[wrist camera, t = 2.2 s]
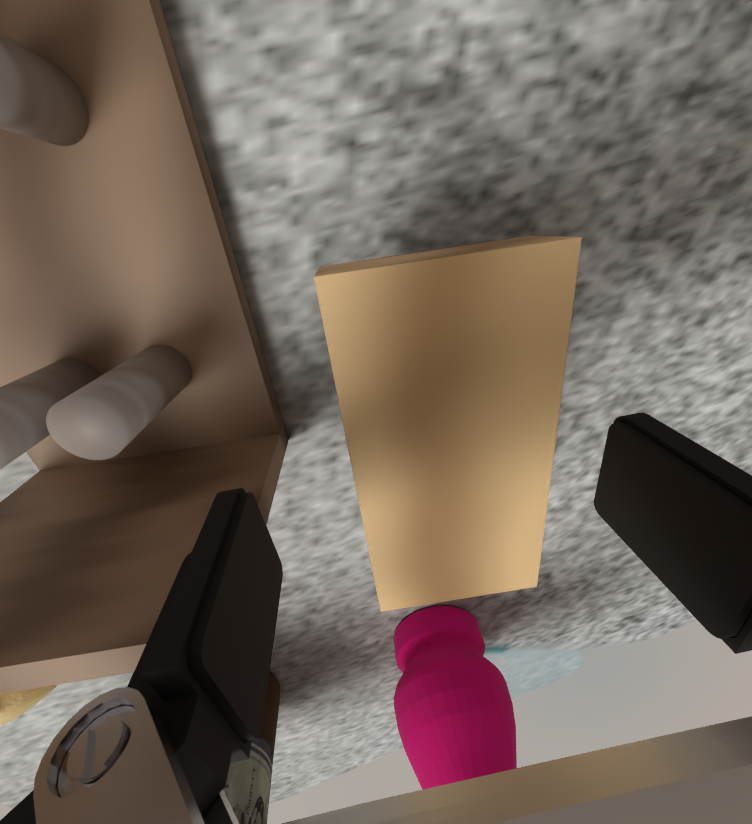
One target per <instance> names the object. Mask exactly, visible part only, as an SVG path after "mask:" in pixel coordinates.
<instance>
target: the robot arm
mask: <svg viewBox="0 0 752 824" xmlns="http://www.w3.org/2000/svg"><path fill="white" fill-rule="evenodd" d="M594 506H595V509H596V511H597V513H598V514H599V515H600V516H601V517H602V518H603V520H604V521H605V522H606V523H607V524H608V525H609V526H610V527H611V528H612V529H613V530H614V531H615V532H616V533H617V534H618V536H619V537H620V538H621V539H622V540H623V541H624V542H625V543H626V544H627V545H628V546H629V547H630V548H631V549H632V551H633V552H634V553H635V554H636V555H637V556H638V557H639V558H640V559H641V560H642V561H643V562H644V563H645V564H646V565H647V567H648V568H649V569H650V570H651V571H652V572H653V573H654V574H655V575H656V576H657V577H658V578H659V579H660V580H661V581H662V583H663V584H664V585H665V586H666V587H667V588H668V589H669V590H670V591H671V592H672V593H673V594H674V595H675V596H676V598H677V599H678V600H679V601H680V602H681V603H682V604H683V605H684V606H685V607H686V608H687V609H688V610H689V611H690V612H691V614H692V615H693V616H694V617H695V618H696V619H697V620H698V621H699V622H700V623H701V624H702V625H703V626H704V627H705V629H706V630H707V631H709V632H710V633H711V634H712V635H714V636H715V637H717V638H720V639H722V640H723V641H724V642H725V643H726V644H727V645H728V646H729V647H730V648H731V649H732V650H733V652H734V653H741V652H745V651H750V650H752V476H751V475H750V474H748V473H746V472H745V471H743V470H741V469H739V468H738V467H736V466H734V465H733V464H731V463H729V462H728V461H726V460H724V459H723V458H721V457H719V456H717V455H716V454H714V453H712V452H711V451H709V450H707V449H706V448H704V447H702V446H700V445H699V444H697V443H695V442H694V441H692V440H690V439H689V438H687V437H685V436H684V435H682V434H680V433H678V432H677V431H675V430H673V429H672V428H670V427H668V426H667V425H665V424H663V423H661V422H660V421H658V420H656V419H655V418H653V417H651V416H650V415H648V414H645V413H636V414H631V415H626V416H620V417H618V418H616V419H615V421H614V423H613V424H611V426H610V427H609V430H608V435H607V440H606V445H605V450H604V454H603V459H602V464H601V469H600V474H599V479H598V484H597V489H596V493H595V498H594ZM282 576H283V571H282V564H281V561H280V559H279V556H278V554H277V551H276V549H275V546H274V544H273V541H272V539H271V536H270V534H269V531H268V529H267V527H266V524H265V522H264V519H263V517H262V514H261V512H260V509H259V507H258V504H257V502H256V499H255V497H254V495H253V493H252V492H248V493H246V491H245V490H244V489H243V488H237V489H232V490H226V491H221V492H218V493H217V494H216V496H215V498H214V501H213V503H212V505H211V508H210V510H209V512H208V515H207V517H206V519H205V522H204V524H203V526H202V529H201V531H200V533H199V536H198V538H197V540H196V543H195V545H194V547H193V550H192V552H191V553H189V554H188V555H187V556H186V557H185V559H184V561H183V562H182V565H181V567H180V569H179V571H178V574H177V576H176V578H175V580H174V583H173V585H172V587H171V589H170V592H169V594H168V596H167V598H166V601H165V603H164V605H163V607H162V610H161V612H160V614H159V617H158V619H157V621H156V623H155V626H154V628H153V630H152V632H151V635H150V637H149V639H148V641H147V644H146V646H145V648H144V650H143V653H142V655H141V657H140V660H139V662H138V664H137V666H136V669H135V671H134V673H133V675H132V678H131V680H130V682H129V684H128V687H125V688H117V689H113V690H111V691H109V692H106V693H104V694H102V695H100V696H98V697H97V698H95V699H94V700H92V701H91V702H89V703H88V704H86V705H85V706H84V707H83V708H82V709H80V710H79V711H78V712H77V713H76V714H75V715H74V716H73V717H72V718H71V719H70V720H69V721H68V722H67V723H66V724H65V725H64V727H63V728H62V729H61V730H60V732H59V733H58V734H57V735H56V737H55V738H54V739H53V741H52V743H51V744H50V746H49V748H48V749H47V751H46V753H45V754H44V756H43V758H42V760H41V763H40V765H39V768H38V771H37V773H36V776H35V782H34V790H33V791H32V792H31V793H30V794H29V795H28V796H27V797H25V798H24V799H23V800H22V801H21V802H20V803H19V804H18V805H17V806H16V807H15V808H14V809H12V810H11V811H10V812H9V813H8V814H7V815H6V816H5V817H4V818H3V819H2V820H1V821H0V824H239V822H238V820H237V818H236V816H235V814H234V812H233V809H232V807H231V805H230V803H229V801H228V799H227V797H226V795H225V792H224V790H223V788H224V787H225V786H226V782H227V776H228V771H229V766H230V763H232V762H237V761H242V760H246V759H249V756H250V750H251V743H252V740H253V739H257V738H258V737H259V735H260V732H261V727H262V721H263V714H264V707H265V700H266V692H267V685H268V678H269V671H270V664H271V656H272V649H273V642H274V635H275V627H276V620H277V613H278V606H279V598H280V591H281V584H282ZM282 824H752V717H747V718H742V719H738V720H733V721H729V722H724V723H719V724H715V725H710V726H705V727H701V728H697V729H692V730H687V731H683V732H678V733H674V734H669V735H665V736H660V737H656V738H651V739H647V740H643V741H638V742H633V743H628V744H624V745H619V746H615V747H610V748H606V749H601V750H597V751H592V752H588V753H583V754H580V755H575V756H570V757H565V758H561V759H557V760H552V761H548V762H543V763H539V764H534V765H530V766H525V767H521V768H516V769H512V770H507V771H503V772H499V773H494V774H490V775H485V776H481V777H477V778H472V779H468V780H463V781H459V782H455V783H450V784H446V785H441V786H437V787H433V788H428V789H424V790H420V791H415V792H411V793H406V794H402V795H398V796H393V797H389V798H385V799H380V800H376V801H372V802H367V803H362V804H358V805H354V806H351V807H346V808H342V809H338V810H334V811H330V812H326V813H322V814H318V815H314V816H310V817H306V818H303V819H298V820H294V821H290V822H286V823H282Z"/></svg>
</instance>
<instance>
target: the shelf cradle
mask: <svg viewBox="0 0 752 824" xmlns="http://www.w3.org/2000/svg"><path fill="white" fill-rule="evenodd" d="M287 444H288V438H287V435H286V431H285V428H284V424H283V421H282V417H281V414H280V411H279V407H278V404H277V400H276V397H275V393H274V390H273V387H272V383H271V380H270V376H269V373H268V369H267V366H266V363H265V359H264V356H263V352H262V349H261V346H260V342H259V339H258V335H257V332H256V328H255V325H254V322H253V318H252V315H251V311H250V308H249V304H248V301H247V298H246V294H245V291H244V287H243V284H242V280H241V277H240V274H239V270H238V267H237V263H236V260H235V256H234V253H233V250H232V246H231V243H230V239H229V236H228V233H227V229H226V226H225V222H224V219H223V215H222V212H221V209H220V205H219V202H218V198H217V195H216V191H215V188H214V185H213V181H212V178H211V174H210V171H209V167H208V164H207V161H206V157H205V154H204V150H203V147H202V143H201V140H200V137H199V133H198V130H197V126H196V123H195V120H194V116H193V113H192V109H191V106H190V102H189V99H188V96H187V92H186V89H185V85H184V82H183V78H182V75H181V72H180V68H179V65H178V61H177V58H176V54H175V51H174V48H173V44H172V41H171V37H170V34H169V30H168V27H167V24H166V20H165V17H164V13H163V10H162V7H161V3H160V0H0V469H2V468H3V467H4V466H6V465H7V464H9V463H10V462H12V461H13V460H14V459H16V458H17V457H19V456H20V455H22V454H23V453H25V452H27V454H28V455H29V456H30V458H31V459H32V461H33V462H34V463H35V465H36V466H37V467H38V469H39V470H40V471H39V472H38V473H37V474H36V475H34V476H33V477H32V478H31V479H29V480H28V481H27V482H26V483H24V484H23V485H22V486H20V487H19V488H18V489H17V490H15V491H14V492H13V493H12V494H10V495H9V496H8V497H7V498H5V499H4V500H3V501H2V502H0V694H2V693H8V692H15V691H21V690H27V689H33V688H39V687H45V686H51V685H58V684H64V683H70V682H76V681H82V680H88V679H94V678H101V677H107V676H113V675H119V674H125V673H131V672H134V671H135V669H136V666H137V664H138V662H139V660H140V657H141V655H142V653H143V650H144V648H145V646H146V644H147V641H148V639H149V637H150V635H151V632H152V630H153V628H154V626H155V623H156V621H157V619H158V617H159V614H160V612H161V610H162V607H163V605H164V603H165V601H166V598H167V596H168V594H169V592H170V589H171V587H172V585H173V583H174V580H175V578H176V576H177V574H178V571H179V569H180V567H181V565H182V562H183V561H184V559H185V557H186V556H187V555H188V554H189V553H191V552H192V550H193V547H194V545H195V543H196V540H197V538H198V536H199V533H200V531H201V529H202V526H203V524H204V522H205V519H206V517H207V515H208V512H209V510H210V508H211V505H212V503H213V501H214V498H215V496H216V494H217V493H218V492H221V491H226V490H232V489H237V488H243V489H244V490H245V491H246V493H248V492H252V493H253V495H254V497H255V499H256V502H257V504H258V507H259V509H260V512H261V514H262V517H263V519H264V522H265V524H267V520H268V516H269V513H270V509H271V505H272V501H273V497H274V493H275V490H276V486H277V482H278V478H279V474H280V470H281V467H282V463H283V459H284V455H285V451H286V447H287Z"/></svg>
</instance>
